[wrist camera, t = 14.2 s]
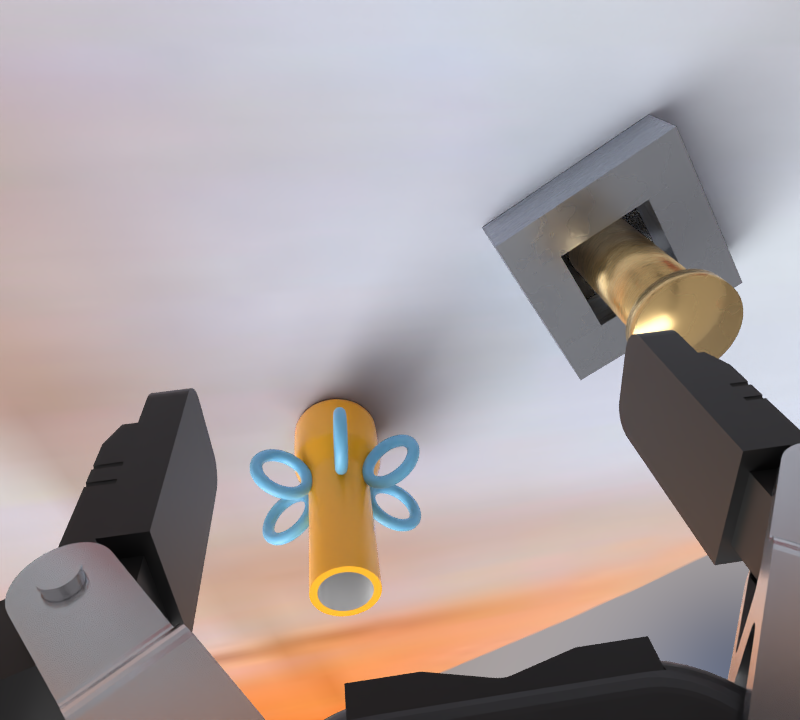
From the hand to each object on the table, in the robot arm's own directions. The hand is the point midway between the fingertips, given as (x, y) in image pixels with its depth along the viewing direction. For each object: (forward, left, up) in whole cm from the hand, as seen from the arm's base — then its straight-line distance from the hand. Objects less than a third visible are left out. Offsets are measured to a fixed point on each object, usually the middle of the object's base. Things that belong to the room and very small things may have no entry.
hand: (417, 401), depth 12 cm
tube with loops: (+14, +18, -30) cm, 38 cm away
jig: (-9, +17, -30) cm, 36 cm away
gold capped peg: (-9, +17, -30) cm, 36 cm away
